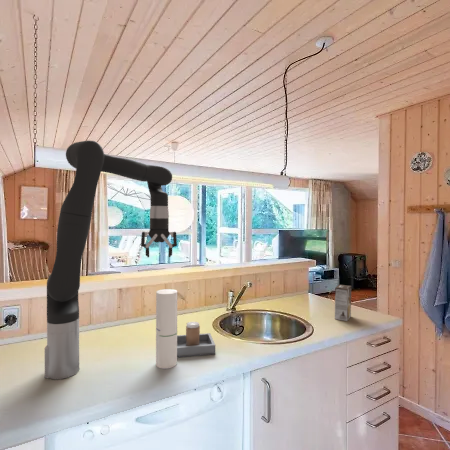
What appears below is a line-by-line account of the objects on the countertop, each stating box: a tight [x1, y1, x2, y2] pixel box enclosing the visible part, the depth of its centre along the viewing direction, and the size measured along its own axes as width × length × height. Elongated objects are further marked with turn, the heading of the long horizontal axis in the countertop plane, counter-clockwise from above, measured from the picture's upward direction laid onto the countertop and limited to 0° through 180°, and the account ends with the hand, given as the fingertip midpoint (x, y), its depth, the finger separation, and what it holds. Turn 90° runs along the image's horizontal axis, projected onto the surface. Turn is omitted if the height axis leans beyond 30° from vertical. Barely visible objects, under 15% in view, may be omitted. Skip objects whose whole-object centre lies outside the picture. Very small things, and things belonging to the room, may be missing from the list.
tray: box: [177, 332, 216, 359], centre depth 119 cm, size 15×12×4 cm
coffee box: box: [334, 284, 352, 322], centre depth 159 cm, size 9×6×16 cm
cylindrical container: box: [155, 288, 178, 369], centre depth 107 cm, size 7×7×25 cm
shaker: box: [185, 321, 201, 346], centre depth 119 cm, size 5×5×9 cm
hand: (159, 257), depth 127 cm, fingers open, 8 cm apart
